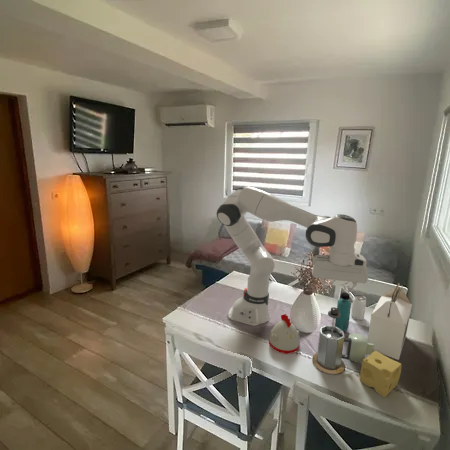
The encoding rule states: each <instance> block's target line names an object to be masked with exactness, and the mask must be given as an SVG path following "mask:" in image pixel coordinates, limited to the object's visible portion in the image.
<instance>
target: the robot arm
mask: <svg viewBox="0 0 450 450" xmlns="http://www.w3.org/2000/svg"><path fill="white" fill-rule="evenodd" d="M224 200H225V201H223V202H222V204H220V206H219V207H218V208H217V210H216V218H217V219H218V221H219V222H220V223H221V224H222V225H223V226H224V228H225V229H226V231H227V233H228V235H229V236H230V237H231V239H232V241H233V242H234V243H235V245H236V246H237V247H238V249H239V250H240V251H241V253H242V254H243V255H244V257H245V258H246V260H247V261H248V263H249V265H250V272H249V276H248V277H247V287H245V288H244V289H243V295H242V297H239V298H238V299H235V302H234V303H233V305H232V306H231V307H230V309H229V310H228V314H227V317H228V320H232V321H235V322H238V323H242V324H245V325H249V326H252V327H256V326H258V325H261V324H265V323H268V322H269V320H270V319H271V316H270V312H269V303H270V302H269V301H270V293H269V286H270V277H271V274H272V273H273V271H274V269H275V267H276V266H275V265H276V264H275V262H274V258H273V256H272V255H271V253H270V252H269V251H268V250H267V249H266V247H265V246H264V244H263V243H262V241H261V240H260V238H259V237H258V235H257V233H256V232H255V230H254V229H253V228H252V226H251V224H250V223H249V222H248V220H247V218H246V217H245V215H246V214H247V213H249V214H250V215H253V216H255V217H256V218H259V219H260V220H263V221H267V222H270V223H273V222H280V221H282V222H283V221H287V222H288V221H289V222H292V223H295V224H298V225H299V226H302V227H304V228H306V230H305V239H306V241H307V242H308V243H309V244H310V245H311V246H313V247H320V248H326V247H327V248H328V247H329V252H328V253H329V254H328V255H326V254H325V255H323V254H317V255H314V256H313V257H312V260H311V263H312V270H311V276H312V278H315V279H320V282H321V284H322V289H325V290H327V289H328V283H325V280H332V281H341V282H349V283H351V285H348V286H347V291H348V292H347V293H353V290H354V288H355V287H356V286H357V284H358V283H359V284H366V283H367V282H368V281H369V269H368V267H367V265H368V264H367V263H368V261H367V259H366V258H365V256H364V255H362V254H360V253H357V252H355V250H356V249H355V243H356V241H357V235H358V234H357V233H358V224H357V220H356V219H355V218H354V217H352V216H351V215H347V214H340V213H338V214H335V215H334V216H332V217H331V216H329V215H318V214H317V215H316V214H315V213H311V212H309V211H306V210H304V209H302V208H299V207H297V206H295V205H292V204H290V203H288V202H286V201H284V200H282V199H280V198H278V197H277V196H275V195H273V194H272V193H269V192H267V191H264V190H262V189H258V188H257V187H254V186H253V187H251V186H246V185H242V186H241V187H238V188H236V189H235V191H233V192H232V193H231V194H230V195H228V197H227V198H225V199H224Z"/></svg>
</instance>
